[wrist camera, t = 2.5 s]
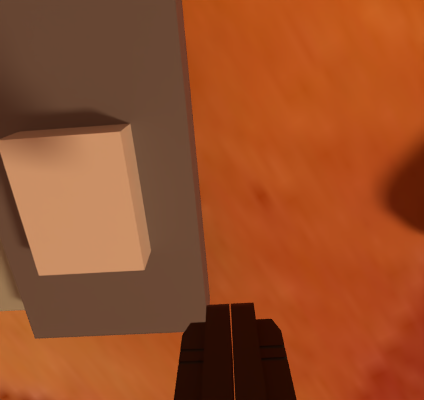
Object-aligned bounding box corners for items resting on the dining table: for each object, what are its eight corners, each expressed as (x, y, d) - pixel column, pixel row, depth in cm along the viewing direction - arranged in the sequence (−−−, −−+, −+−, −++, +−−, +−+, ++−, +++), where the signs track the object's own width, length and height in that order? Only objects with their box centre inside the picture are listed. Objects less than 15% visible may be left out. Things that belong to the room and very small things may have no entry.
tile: (18, 131, 22) (-4, 140, 20) (130, 123, 21) (120, 131, 19) (54, 256, 25) (38, 275, 23) (151, 250, 25) (144, 270, 23)
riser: (-35, 7, 23) (-84, -2, 19) (180, -12, 22) (172, -25, 18) (56, 305, 32) (35, 338, 28) (209, 298, 31) (208, 330, 28)
